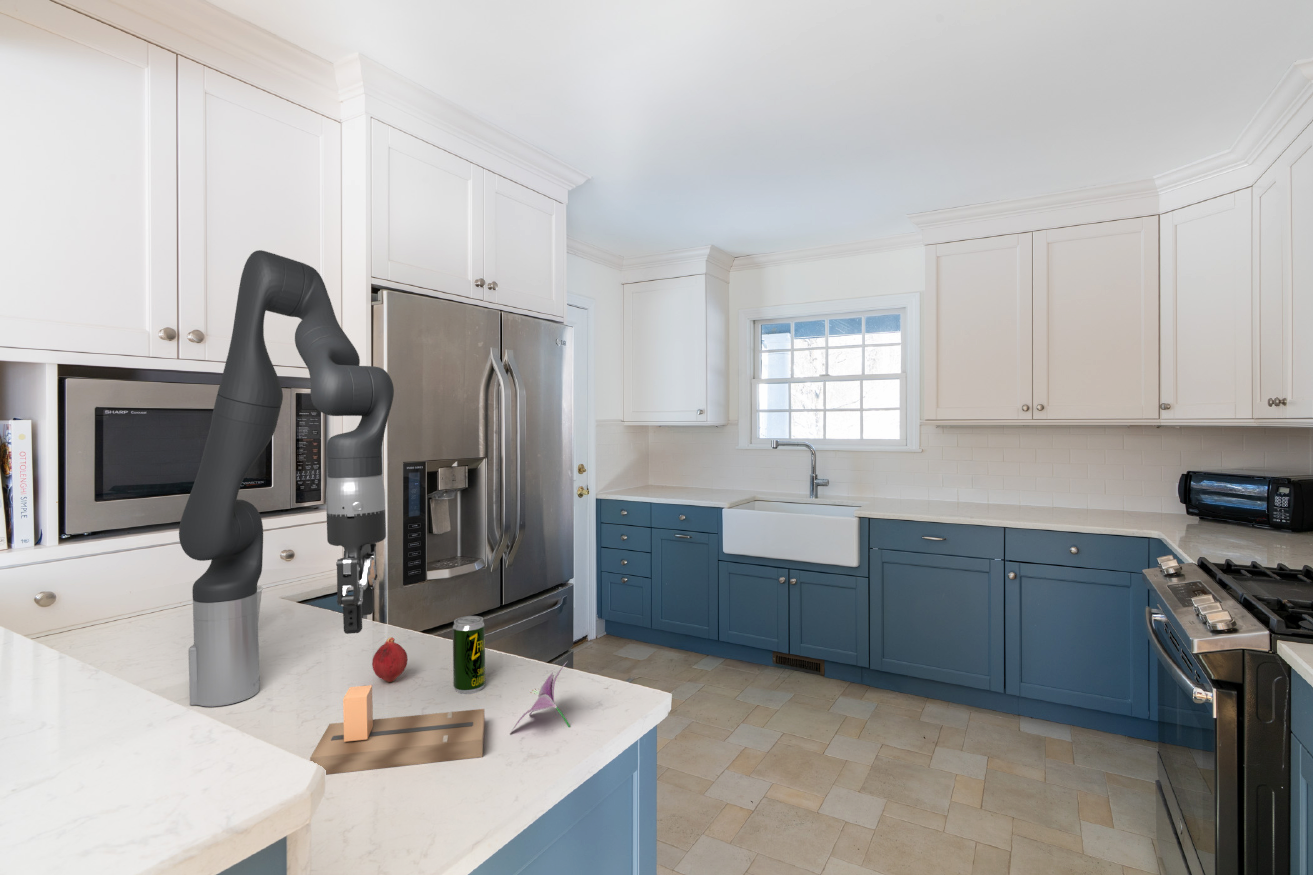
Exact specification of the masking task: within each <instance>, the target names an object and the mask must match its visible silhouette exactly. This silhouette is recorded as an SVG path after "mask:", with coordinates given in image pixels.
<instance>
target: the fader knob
mask: <svg viewBox="0 0 1313 875" xmlns="http://www.w3.org/2000/svg"><path fill="white" fill-rule="evenodd" d="M373 701H374V700H373V684H370V685H359V686H349V688H348V690H347V692H346V693H345V695H344V697H343V699H342V703H343V704H342V705H343V706H342V708H343V709H342V710H343V712H342V713H343V722H344V742H346V741H356V740H365V739H368V737H369V734H370V732H371V730H372V727H373V719H374V714H373V713H374V711H373V708H374V707H373Z"/></svg>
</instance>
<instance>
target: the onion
mask: <svg viewBox="0 0 1313 875" xmlns="http://www.w3.org/2000/svg"><path fill="white" fill-rule="evenodd" d="M371 662H372V663H371V666H372V669H373V672H374V674H375V676H377V677H378V678H379V679H381V680H383V681H385V682H387V683H392V682H395V681H396V679H397V678H398V677H400V676H401V674H403V672H404V671H405V669H406V668H407V665H408V654H407V651H406V650H405V649H404V648H403V647H402V646H401V645H400V644H399V643H396V642H395V638H394V637H393V636H391V637H388V638H387V639H386V641H385V642H384V644H382V645H381V646H380V647H379V648H378V649H377V650H376V651H375V653H374V654H373V657H372V660H371Z"/></svg>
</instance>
